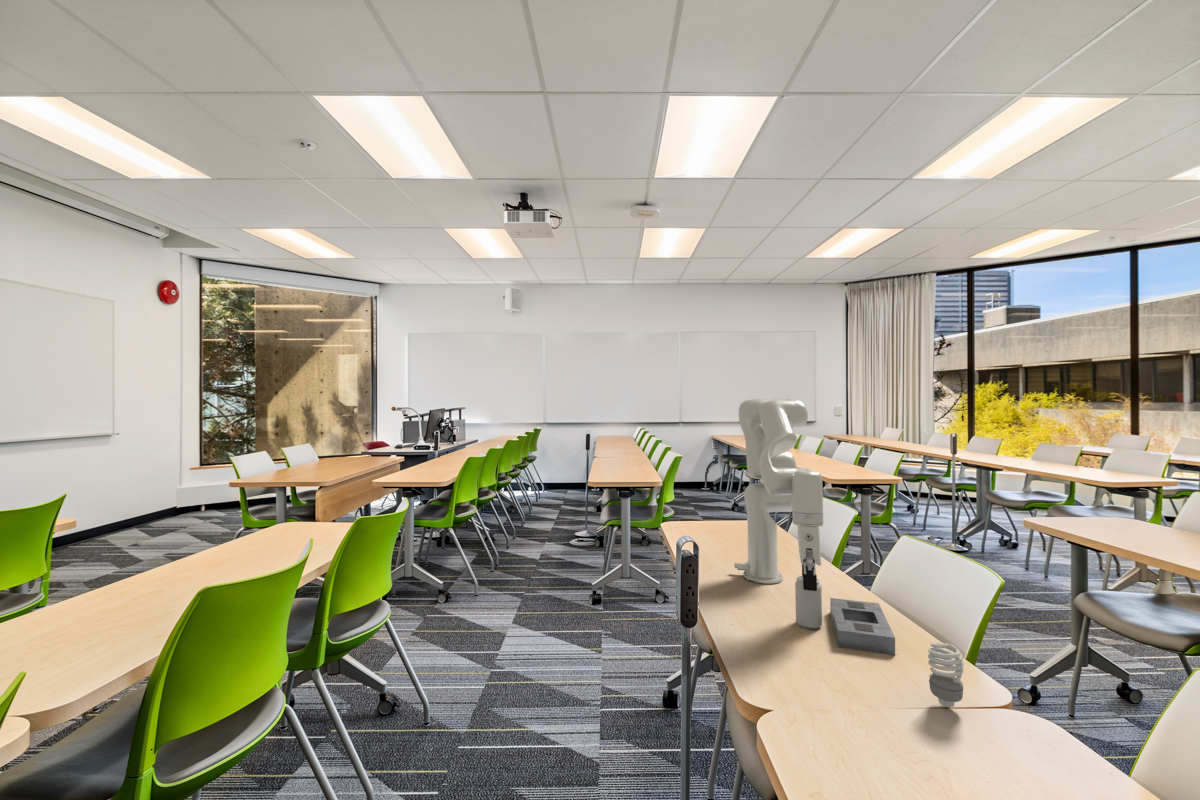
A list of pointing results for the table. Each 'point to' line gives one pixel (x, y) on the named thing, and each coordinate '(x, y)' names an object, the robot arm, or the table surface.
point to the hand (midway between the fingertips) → (809, 584)
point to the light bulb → (946, 674)
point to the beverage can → (808, 605)
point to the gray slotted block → (861, 626)
